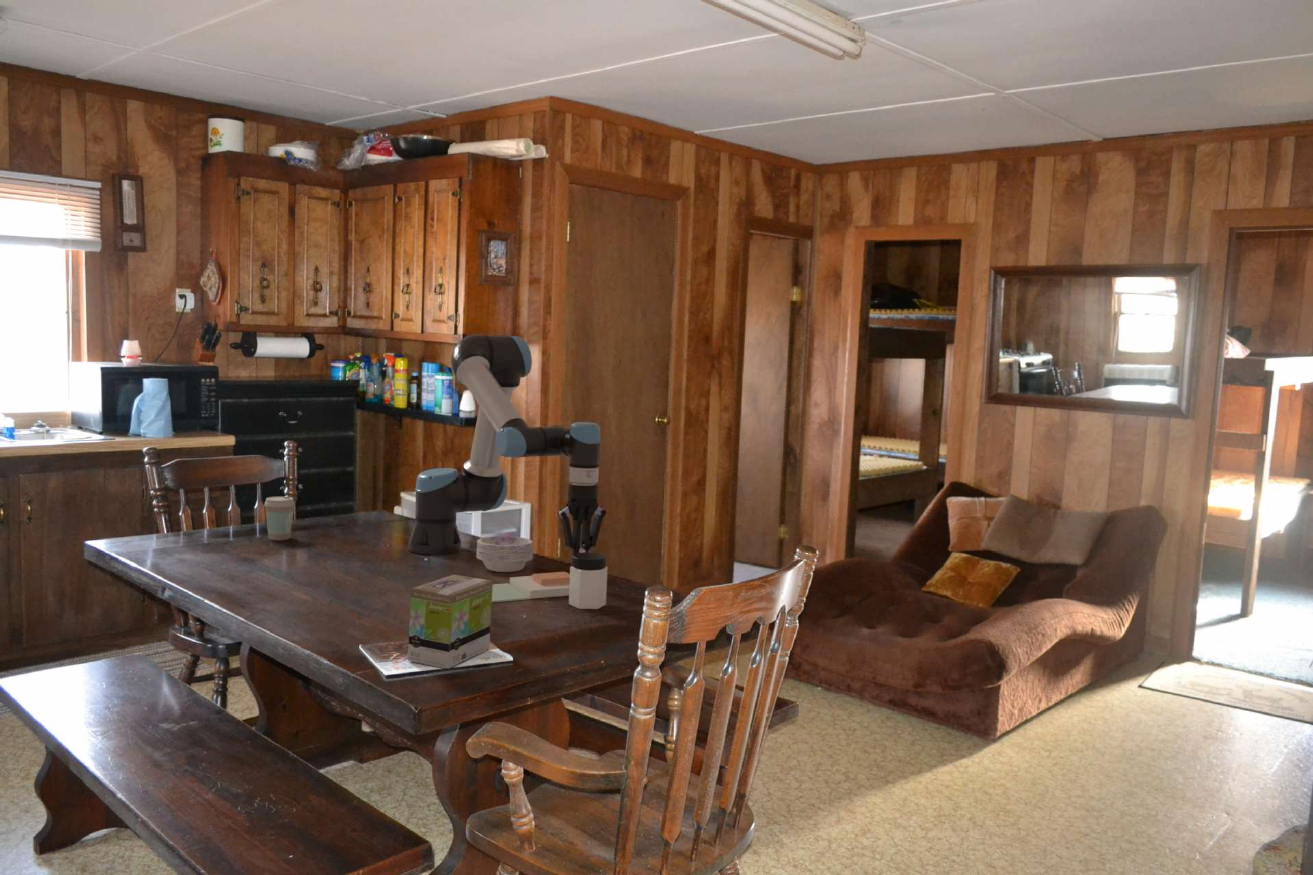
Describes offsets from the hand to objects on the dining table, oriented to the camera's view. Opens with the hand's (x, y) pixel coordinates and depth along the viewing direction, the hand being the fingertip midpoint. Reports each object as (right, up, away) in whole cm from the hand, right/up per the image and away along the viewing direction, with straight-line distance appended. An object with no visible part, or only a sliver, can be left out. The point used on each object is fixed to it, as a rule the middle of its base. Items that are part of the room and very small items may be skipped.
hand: (579, 574), depth 265 cm
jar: (+3, -5, -17) cm, 18 cm away
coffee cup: (-92, +5, +40) cm, 100 cm away
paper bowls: (-22, -1, +16) cm, 27 cm away
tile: (-6, -1, -3) cm, 7 cm away
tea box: (-21, -9, -59) cm, 64 cm away
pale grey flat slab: (-7, -3, -4) cm, 9 cm away
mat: (-21, -3, -11) cm, 24 cm away
